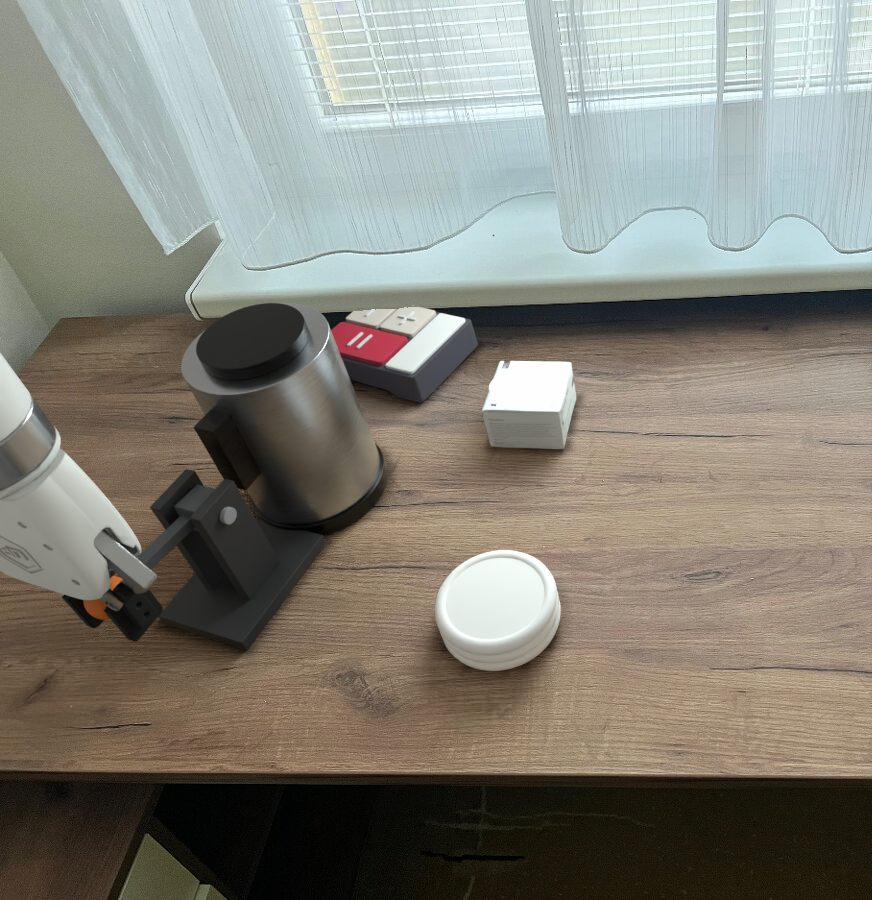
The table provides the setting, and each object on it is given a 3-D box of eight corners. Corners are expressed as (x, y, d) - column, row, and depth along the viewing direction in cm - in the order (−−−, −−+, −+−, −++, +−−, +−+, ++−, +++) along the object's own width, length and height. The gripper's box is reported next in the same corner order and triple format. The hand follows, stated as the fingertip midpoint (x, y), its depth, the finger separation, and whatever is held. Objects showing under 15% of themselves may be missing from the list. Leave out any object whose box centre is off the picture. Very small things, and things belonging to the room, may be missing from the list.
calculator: (369, 291, 103) (470, 313, 97) (380, 321, 106) (480, 344, 100) (306, 345, 97) (410, 372, 90) (320, 375, 100) (422, 404, 93)
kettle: (331, 567, 79) (252, 412, 65) (216, 535, 83) (121, 384, 70) (411, 454, 88) (357, 300, 75) (305, 431, 92) (236, 281, 79)
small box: (565, 451, 86) (559, 412, 83) (489, 448, 88) (479, 410, 84) (578, 398, 92) (572, 360, 88) (506, 396, 93) (497, 359, 89)
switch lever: (117, 633, 64) (98, 604, 62) (84, 622, 65) (65, 593, 63) (234, 515, 73) (221, 486, 71) (204, 507, 74) (191, 479, 72)
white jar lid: (477, 560, 77) (469, 535, 75) (580, 589, 74) (575, 563, 72) (420, 653, 71) (409, 629, 69) (530, 689, 68) (523, 664, 65)
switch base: (247, 650, 73) (186, 563, 65) (164, 624, 76) (95, 537, 68) (326, 543, 81) (281, 453, 72) (248, 522, 84) (196, 433, 75)
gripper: (-160, 463, 54) (10, 632, 66) (34, 519, 48) (178, 690, 61) (-58, 385, 58) (83, 557, 71) (129, 429, 53) (244, 605, 66)
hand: (126, 617), depth 66 cm, fingers closed on switch lever, 3 cm apart
